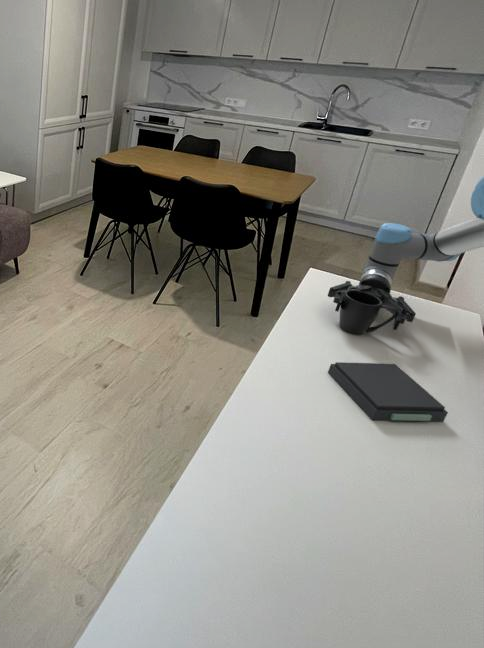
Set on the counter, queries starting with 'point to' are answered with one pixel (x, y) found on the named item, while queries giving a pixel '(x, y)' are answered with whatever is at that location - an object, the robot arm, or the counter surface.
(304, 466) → the counter surface
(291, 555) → the counter surface
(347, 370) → the scale
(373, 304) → the mug
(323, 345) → the counter surface
